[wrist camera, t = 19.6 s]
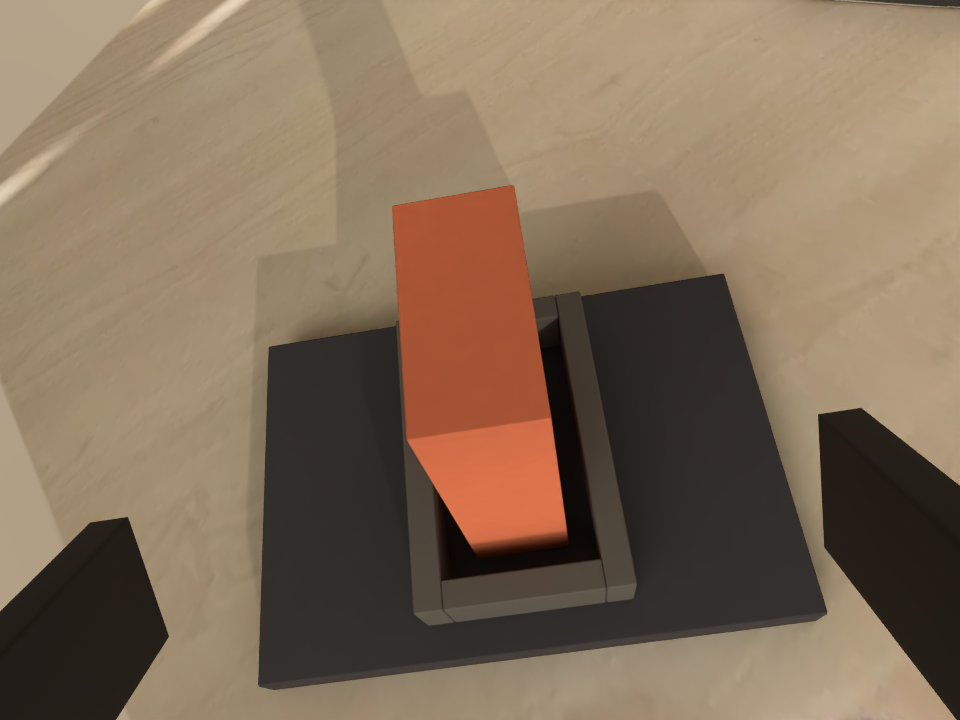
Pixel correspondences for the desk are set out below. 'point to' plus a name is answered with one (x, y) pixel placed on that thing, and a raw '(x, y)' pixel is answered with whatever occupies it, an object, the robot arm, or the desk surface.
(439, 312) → the orange rectangular block
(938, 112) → the desk surface
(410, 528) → the socket base
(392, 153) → the desk surface
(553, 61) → the desk surface
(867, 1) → the disk drive
